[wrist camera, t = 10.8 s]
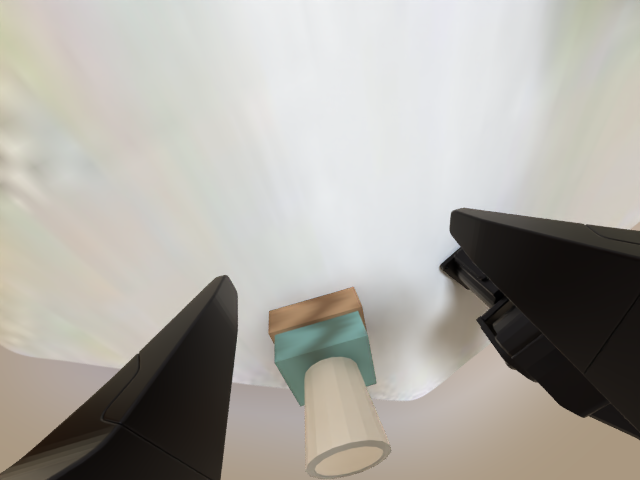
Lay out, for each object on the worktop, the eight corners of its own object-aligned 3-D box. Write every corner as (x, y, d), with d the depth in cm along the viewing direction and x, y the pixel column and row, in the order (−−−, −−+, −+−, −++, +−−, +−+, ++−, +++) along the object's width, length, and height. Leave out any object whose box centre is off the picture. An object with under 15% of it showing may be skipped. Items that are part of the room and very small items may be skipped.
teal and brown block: (353, 286, 27) (372, 330, 21) (364, 339, 32) (381, 384, 27) (269, 311, 26) (267, 361, 21) (293, 360, 32) (297, 409, 26)
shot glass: (311, 349, 21) (324, 444, 15) (374, 355, 24) (408, 440, 18) (289, 391, 24) (294, 484, 18) (347, 393, 26) (368, 477, 20)
